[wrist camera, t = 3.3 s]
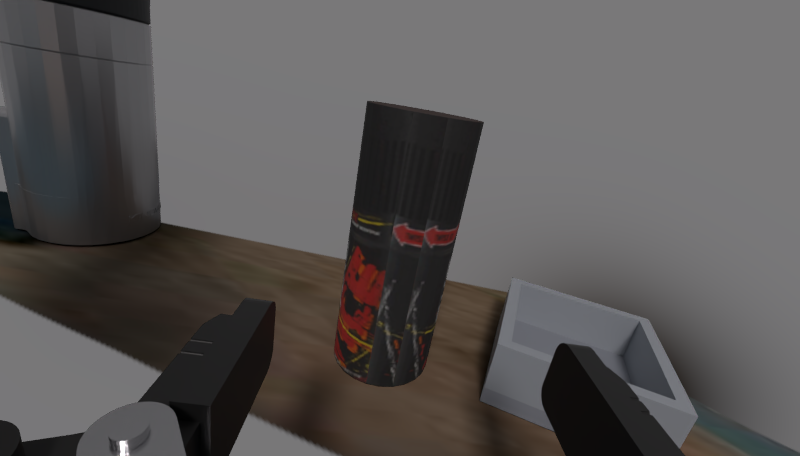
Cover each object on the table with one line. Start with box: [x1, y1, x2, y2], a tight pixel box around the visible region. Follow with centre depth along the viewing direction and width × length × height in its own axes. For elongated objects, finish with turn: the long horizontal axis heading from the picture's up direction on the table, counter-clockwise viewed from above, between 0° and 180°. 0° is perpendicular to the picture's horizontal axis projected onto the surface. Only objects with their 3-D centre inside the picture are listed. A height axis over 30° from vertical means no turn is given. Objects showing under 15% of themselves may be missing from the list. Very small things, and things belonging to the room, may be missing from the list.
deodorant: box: [334, 101, 484, 387], centre depth 21 cm, size 6×6×15 cm
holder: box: [480, 278, 698, 449], centre depth 23 cm, size 9×9×4 cm
